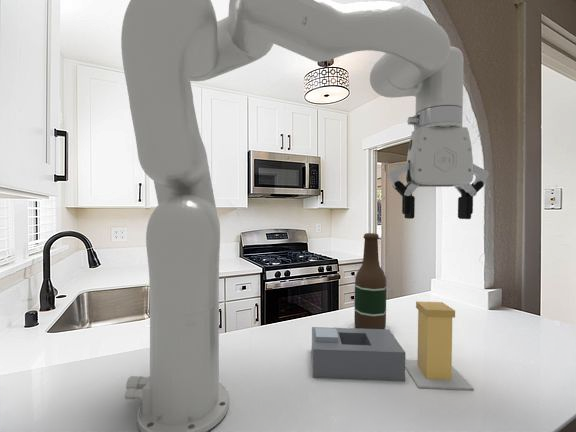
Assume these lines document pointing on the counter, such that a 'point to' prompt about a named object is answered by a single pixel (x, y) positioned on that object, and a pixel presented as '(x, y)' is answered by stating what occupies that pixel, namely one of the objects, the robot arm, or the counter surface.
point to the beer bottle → (370, 288)
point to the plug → (435, 339)
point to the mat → (422, 382)
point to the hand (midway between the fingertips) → (436, 218)
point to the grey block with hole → (357, 354)
